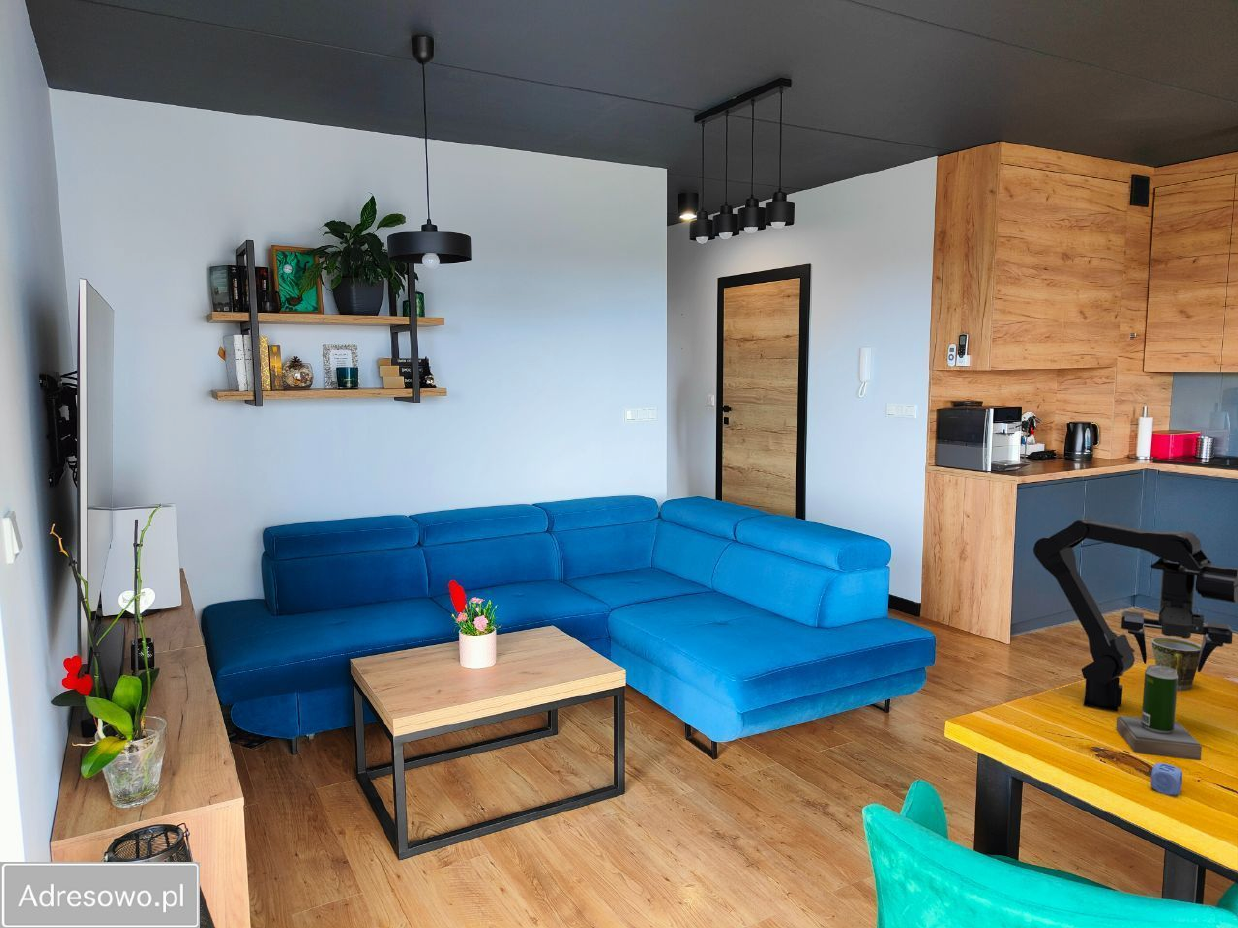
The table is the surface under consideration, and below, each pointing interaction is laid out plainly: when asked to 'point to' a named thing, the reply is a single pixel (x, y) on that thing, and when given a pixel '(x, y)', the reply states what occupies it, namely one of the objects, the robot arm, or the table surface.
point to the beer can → (1159, 699)
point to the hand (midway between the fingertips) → (1171, 667)
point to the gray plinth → (1158, 739)
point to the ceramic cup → (1177, 658)
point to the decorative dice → (1166, 779)
